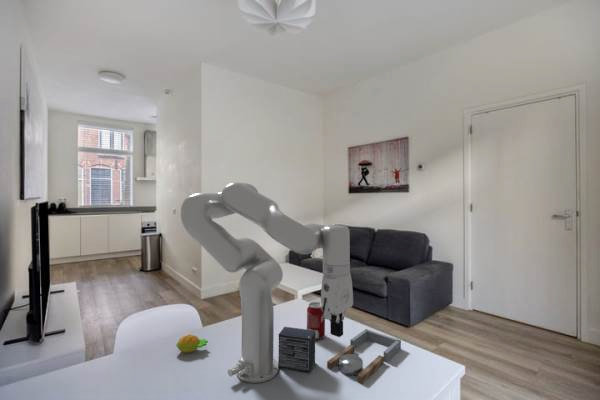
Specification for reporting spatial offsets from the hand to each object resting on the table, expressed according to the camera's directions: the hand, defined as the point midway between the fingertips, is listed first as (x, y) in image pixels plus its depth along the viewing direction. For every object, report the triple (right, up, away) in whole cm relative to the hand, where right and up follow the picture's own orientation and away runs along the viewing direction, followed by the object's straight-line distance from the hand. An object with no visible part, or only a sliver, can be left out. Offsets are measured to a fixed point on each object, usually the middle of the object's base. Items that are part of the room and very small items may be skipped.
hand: (336, 334), depth 84 cm
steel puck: (+5, -14, +7) cm, 17 cm away
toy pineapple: (-47, -14, +17) cm, 52 cm away
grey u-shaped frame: (+15, -14, +19) cm, 28 cm away
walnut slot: (+7, -14, +9) cm, 18 cm away
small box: (-11, -14, +9) cm, 20 cm away
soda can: (-4, -14, +28) cm, 32 cm away
